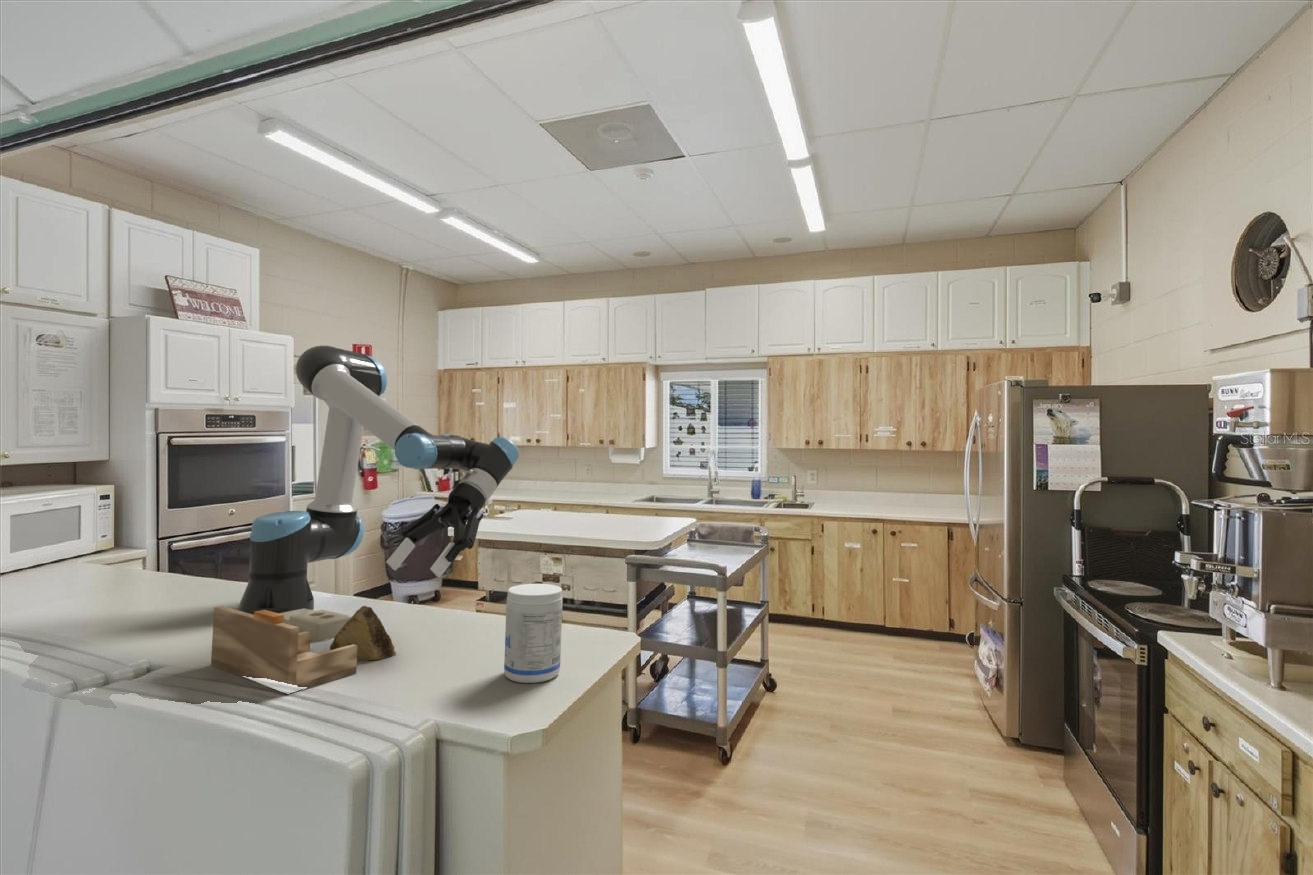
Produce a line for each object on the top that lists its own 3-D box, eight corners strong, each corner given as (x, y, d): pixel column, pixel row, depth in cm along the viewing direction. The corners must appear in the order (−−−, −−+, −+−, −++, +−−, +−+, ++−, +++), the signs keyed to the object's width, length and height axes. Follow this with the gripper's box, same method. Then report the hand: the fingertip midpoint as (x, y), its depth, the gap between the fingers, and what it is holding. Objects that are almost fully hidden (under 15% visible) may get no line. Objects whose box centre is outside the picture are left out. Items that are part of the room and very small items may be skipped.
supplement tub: (499, 669, 104) (502, 584, 104) (552, 662, 108) (555, 581, 108) (509, 688, 95) (512, 596, 96) (566, 681, 99) (569, 592, 99)
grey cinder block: (304, 604, 133) (352, 615, 124) (303, 622, 132) (351, 635, 123) (270, 610, 126) (318, 623, 117) (269, 629, 126) (317, 644, 117)
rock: (310, 647, 107) (339, 650, 101) (337, 603, 112) (367, 603, 106) (357, 671, 113) (388, 674, 108) (381, 629, 118) (411, 630, 113)
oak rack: (278, 648, 113) (281, 589, 113) (356, 673, 100) (359, 606, 101) (209, 665, 103) (213, 600, 103) (286, 695, 90) (289, 621, 91)
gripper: (425, 479, 137) (362, 552, 123) (504, 482, 124) (444, 564, 110) (443, 501, 141) (384, 574, 127) (521, 506, 128) (465, 588, 115)
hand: (412, 569), depth 119 cm, fingers open, 13 cm apart
